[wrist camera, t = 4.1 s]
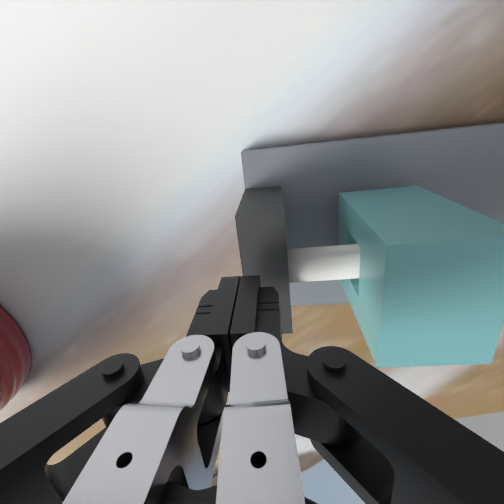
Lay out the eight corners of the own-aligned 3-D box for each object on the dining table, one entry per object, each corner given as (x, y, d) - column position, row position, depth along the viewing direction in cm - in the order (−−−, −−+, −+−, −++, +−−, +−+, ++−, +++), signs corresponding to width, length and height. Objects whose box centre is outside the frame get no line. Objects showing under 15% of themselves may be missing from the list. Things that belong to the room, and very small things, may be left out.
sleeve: (338, 192, 16) (386, 244, 9) (417, 185, 15) (527, 234, 9) (337, 275, 18) (377, 367, 11) (407, 271, 17) (491, 363, 11)
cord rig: (242, 150, 17) (220, 173, 10) (682, 102, 15) (1088, 84, 7) (259, 299, 21) (253, 396, 14) (607, 279, 19) (823, 381, 11)
